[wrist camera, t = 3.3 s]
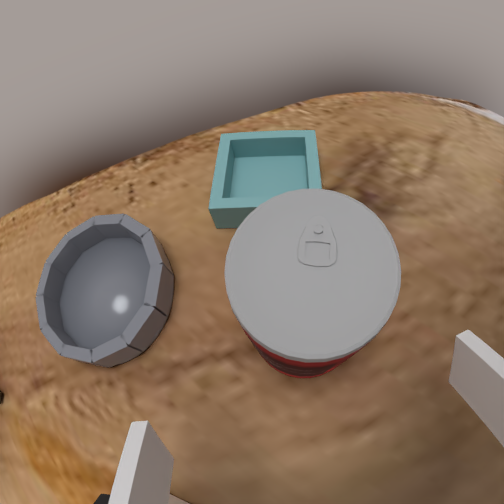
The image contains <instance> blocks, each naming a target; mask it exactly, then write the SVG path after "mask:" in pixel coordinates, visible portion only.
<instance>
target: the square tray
mask: <svg viewBox="0 0 504 504" xmlns="http://www.w3.org/2000/svg"><path fill="white" fill-rule="evenodd" d="M299 189H322V187H321V177H320V168H319V160H318V151H317V143H316V136H315V130H288V131H260V132H242V133H228V134H221V138H220V144H219V149H218V155H217V160H216V166H215V172H214V178H213V184H212V190H211V196H210V202H209V211H210V214H211V216H212V218H213V221H214V223H215V226H216V228H238V227H239V226H240V224H241V223H242V222H243V221H244V220H245V218H246V217H247V216H248V215H249V214H250V213H251V212H252V211H253V210H255V209H256V208H257V207H258V206H259V205H260V204H262V203H264V202H266V201H267V200H269V199H271V198H272V197H275V196H277V195H280V194H283V193H285V192H288V191H294V190H299Z"/></svg>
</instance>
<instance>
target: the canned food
mask: <svg viewBox="0 0 504 504" xmlns="http://www.w3.org/2000/svg"><path fill="white" fill-rule="evenodd" d="M225 282H226V290H227V294H228V298H229V301H230V304H231V307H232V310H233V313H234V314H235V316H236V318H237V320H238V321H239V323H240V325H241V327H242V328H243V330H244V332H245V333H246V335H247V336H248V338H249V339H250V340H251V342H252V343H253V345H254V346H255V347H256V349H257V350H258V352H259V353H260V354H261V356H262V357H263V358H264V360H265V361H266V362H267V363H268V364H269V365H270V366H271V367H273V368H274V369H276V370H277V371H279V372H281V373H283V374H285V375H288V376H292V377H297V378H311V377H316V376H320V375H323V374H325V373H327V372H329V371H331V370H333V369H334V368H336V367H337V366H338V365H340V364H341V363H343V362H344V361H346V360H347V359H348V358H350V357H351V356H353V355H354V354H355V353H357V352H358V351H359V350H360V349H362V348H363V347H364V346H365V345H367V344H368V343H369V342H370V341H371V340H372V339H373V338H374V337H375V336H376V335H377V334H378V333H379V331H380V330H381V329H382V328H383V326H384V325H385V324H386V322H387V320H388V319H389V317H390V315H391V313H392V311H393V309H394V307H395V305H396V302H397V298H398V294H399V290H400V283H401V266H400V260H399V254H398V251H397V248H396V246H395V243H394V240H393V238H392V236H391V234H390V233H389V231H388V230H387V228H386V226H385V225H384V223H383V222H382V221H381V220H380V219H379V218H378V217H377V216H376V214H375V213H374V212H372V211H371V210H370V209H369V208H367V207H366V206H365V205H363V204H362V203H361V202H359V201H357V200H355V199H353V198H351V197H349V196H347V195H344V194H341V193H338V192H335V191H331V190H324V189H299V190H294V191H288V192H285V193H283V194H280V195H277V196H275V197H272V198H271V199H269V200H267V201H266V202H264V203H262V204H260V205H259V206H258V207H257V208H256V209H255V210H253V211H252V212H251V213H250V214H249V215H248V216H247V217H246V218H245V220H244V221H243V222H242V223H241V224H240V226H239V227H238V229H237V231H236V233H235V234H234V236H233V238H232V240H231V242H230V246H229V249H228V252H227V256H226V264H225Z"/></svg>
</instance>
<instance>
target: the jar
mask: <svg viewBox="0 0 504 504" xmlns="http://www.w3.org/2000/svg"><path fill="white" fill-rule="evenodd" d="M168 504H190V503H188V502H185V501H183V500H181V499H179V498H177V497H175V496H173V495H171V494H169V502H168Z"/></svg>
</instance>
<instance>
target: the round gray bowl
mask: <svg viewBox="0 0 504 504" xmlns="http://www.w3.org/2000/svg"><path fill="white" fill-rule="evenodd" d="M46 262H47V263H45V264H44V268H43V271H42V274H41V278H40V282H39V285H38V289H37V293H36V296H37V297H36V304H37V311H38V318H39V325H40V329H41V332H42V333H43V334H44V336H45V337H46V338H47V340H48V341H49V342H50V344H51V345H52V346H53V347H54V349H55V350H56V351H57V352H58V354H59V355H61V356H63V357H66V358H70V359H73V360H76V361H80V362H84V363H88V364H93V365H97V366H103V367H112V366H115V365H119V364H122V363H125V362H128V361H130V360H132V359H134V358H135V357H137V356H138V355H140V354H141V353H142V352H144V351H145V350H146V349H147V348H148V347H149V346H150V345H151V344H152V343H153V342H154V340H155V339H156V338H157V337H158V335H159V334H160V332H161V330H162V329H163V327H164V325H165V323H166V321H167V318H168V316H169V313H170V310H171V306H172V301H173V294H174V277H173V272H172V268H171V265H170V262H169V260H168V258H167V256H166V254H165V252H164V250H163V247H162V245H161V243H160V242H159V241H158V239H157V238H156V237H155V235H154V234H153V233H152V231H151V230H150V229H149V228H147V227H146V226H144V225H143V224H141V223H139V222H138V221H136V220H134V219H133V218H131V217H130V216H128V215H126V214H113V215H100V216H95V217H92V218H90V219H89V220H87V221H85V222H84V223H82V224H80V225H79V226H77V227H76V228H74V229H72V230H71V231H69V232H68V233H67V235H66V234H65V236H64V237H63V238H62V240H61V241H60V242H59V244H58V245H57V246H56V248H55V249H54V250H53V252H52V253H51V254H50V256H49V257H48V259H47V260H46Z"/></svg>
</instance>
